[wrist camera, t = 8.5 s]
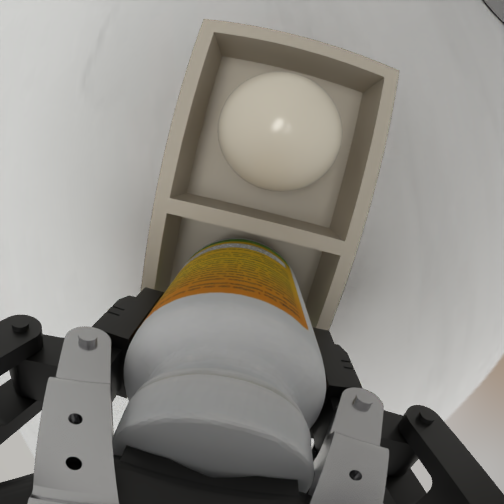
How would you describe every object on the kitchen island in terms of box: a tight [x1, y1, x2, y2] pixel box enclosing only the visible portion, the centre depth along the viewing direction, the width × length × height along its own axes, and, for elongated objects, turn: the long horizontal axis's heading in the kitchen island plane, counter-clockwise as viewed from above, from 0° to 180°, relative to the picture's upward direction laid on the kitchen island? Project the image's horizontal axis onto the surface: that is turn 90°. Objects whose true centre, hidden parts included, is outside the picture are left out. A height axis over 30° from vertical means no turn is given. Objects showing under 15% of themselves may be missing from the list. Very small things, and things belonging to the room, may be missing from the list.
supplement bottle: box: [113, 238, 326, 493], centre depth 9 cm, size 5×5×10 cm
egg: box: [217, 71, 343, 192], centre depth 11 cm, size 5×5×5 cm
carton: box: [141, 19, 399, 331], centre depth 13 cm, size 16×8×4 cm, turn 166°
